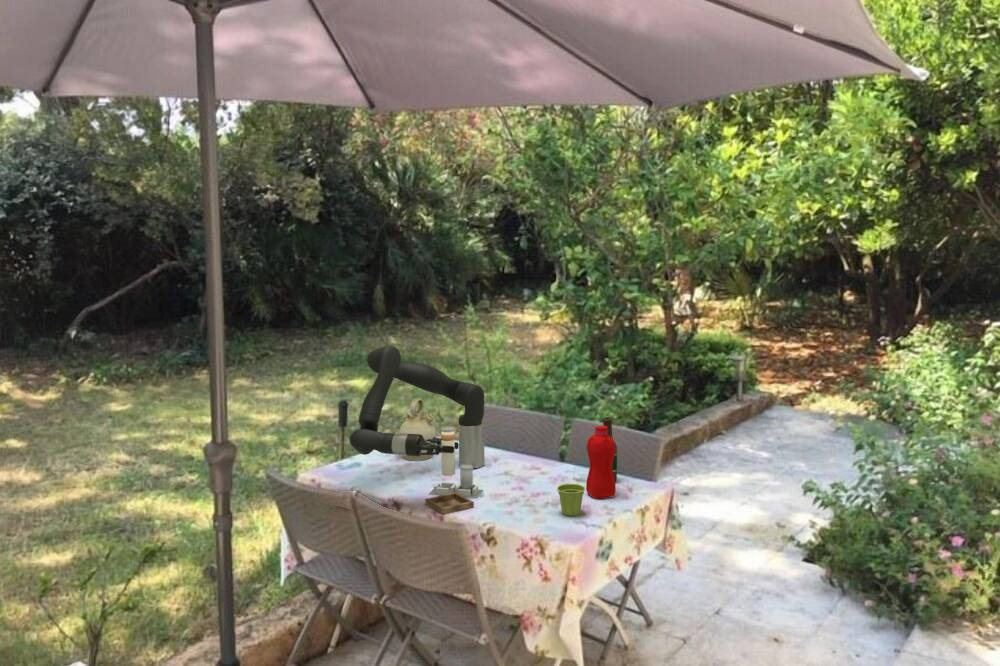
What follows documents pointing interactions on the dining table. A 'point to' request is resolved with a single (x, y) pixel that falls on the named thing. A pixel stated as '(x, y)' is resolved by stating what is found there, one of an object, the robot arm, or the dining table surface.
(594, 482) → the water bottle
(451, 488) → the clip block
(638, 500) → the dining table surface
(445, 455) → the cylinder
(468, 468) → the fuse
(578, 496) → the plant pot
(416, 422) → the jug
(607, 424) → the beer bottle
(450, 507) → the tray
